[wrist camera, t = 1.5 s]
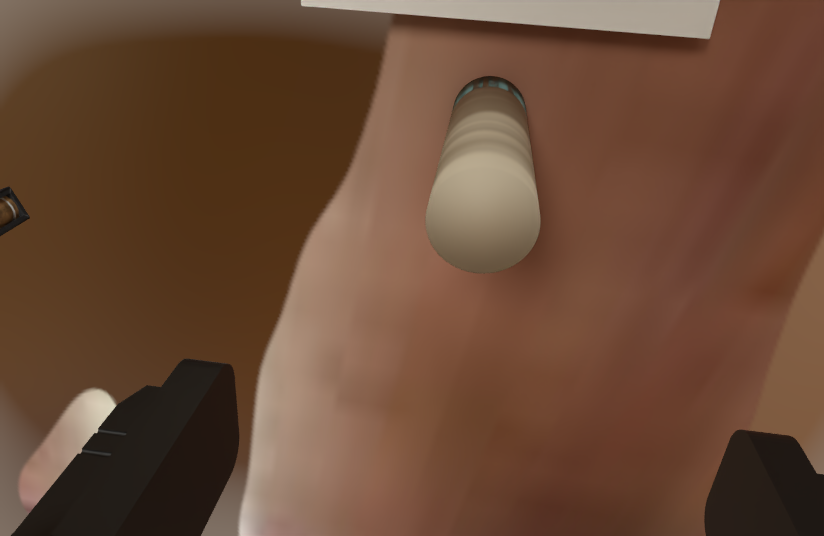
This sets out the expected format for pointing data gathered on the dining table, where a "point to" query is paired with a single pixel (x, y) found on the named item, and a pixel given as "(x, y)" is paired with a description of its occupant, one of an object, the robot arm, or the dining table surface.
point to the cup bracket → (559, 13)
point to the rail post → (485, 181)
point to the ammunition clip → (10, 211)
